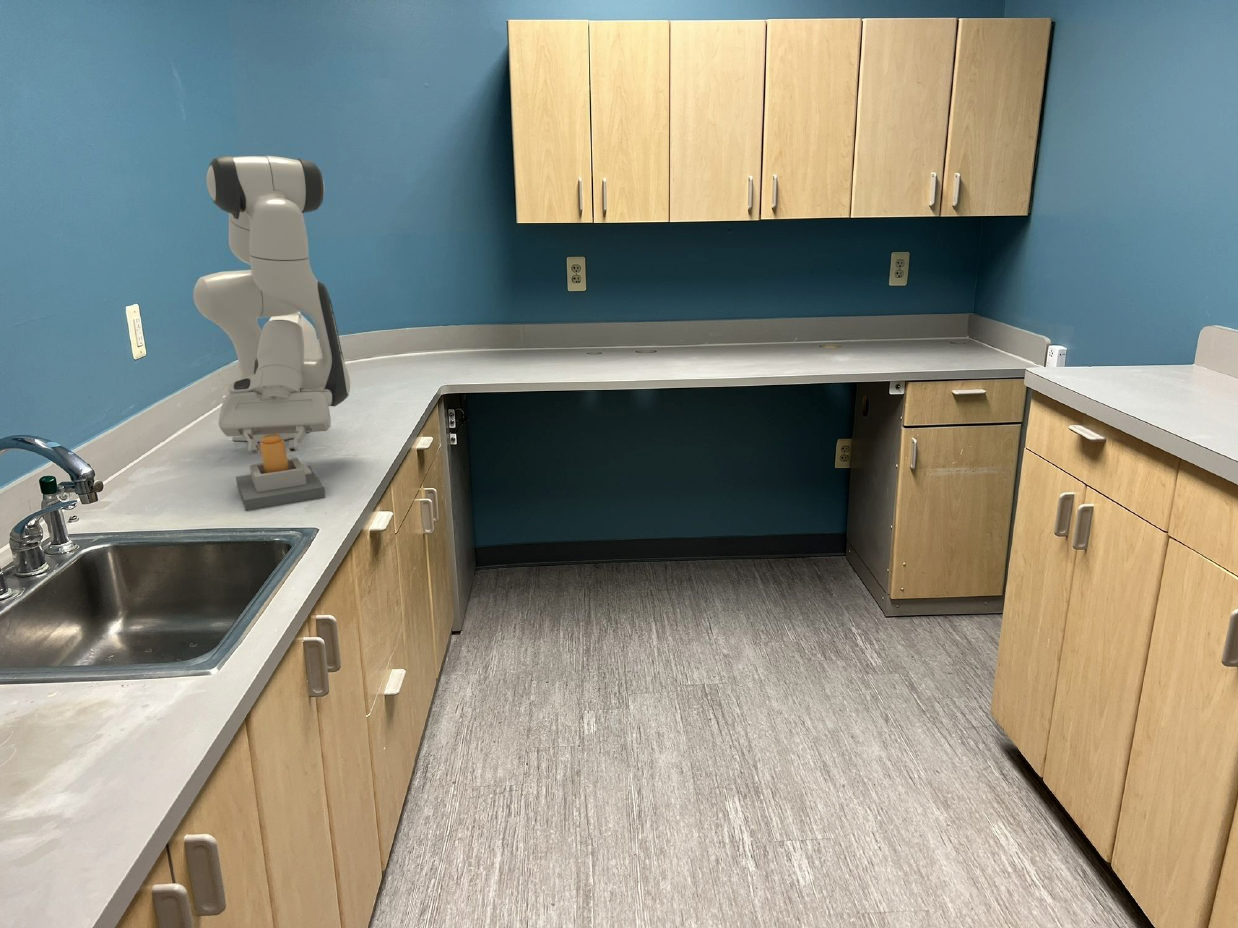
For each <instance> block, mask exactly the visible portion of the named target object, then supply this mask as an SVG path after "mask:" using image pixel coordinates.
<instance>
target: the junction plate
mask: <svg viewBox="0 0 1238 928" xmlns="http://www.w3.org/2000/svg"><path fill="white" fill-rule="evenodd" d="M287 460H288V466H289V470H284V471H278V472H271V473H265V471H264V465H263V462H260V463H259V462H258V463H253V464H249V469H250V474H246V475H239V476H235V481H236V486H237V489H238V493H239V495H240V498H241V500H242V503H243V505H244V508H245V511H250V510H251V509H252V510H257V509H261V507H264V508H269V507H274V506H280V504H281V505H286V504H287V505H288V504H291V503H298V501H299V502H304V501H305V502H306V501H310V500H314V499H315V500H317V499H322V498H326V491H325V485H324V484H323V483H322V482H321V481H320V478H319V477H318V476H317V475H316V472H315V471H314V470H313V469H312V467H311V466H310V465H303V464H302V463H301V462H300V460H299V458H298V457H293V458H287Z"/></svg>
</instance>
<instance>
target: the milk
mask: <svg viewBox="0 0 1238 928" xmlns="http://www.w3.org/2000/svg"><path fill="white" fill-rule="evenodd" d="M272 320H289V321H292V322H295V323H297V324H299V325H300V326H301V328H302V331H303V338H304V359H320V358H321V354H320V353H321V352H320V348H319V347H320V346H319V343H318V342H319V341H318V335H317V330H316V328H315V327H314V326H313V325H312V323H311V322H310V321H308V320H307V318H306V317H305V316H304V315H303V314H302V313H301V311H300V312H297V313H294V314H290V315H286V316H276V317H269V320H268V321H272Z"/></svg>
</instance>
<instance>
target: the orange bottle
mask: <svg viewBox="0 0 1238 928" xmlns="http://www.w3.org/2000/svg"><path fill="white" fill-rule="evenodd" d="M262 440H263V441H262V442H259V449H260V452H261V458H262V459H261V460H262V463H263V465H264V471H265V473H271V472H278V471H284V470H289V466H288V460H287V459H288V454H287V449H286V448H287V447H286V443H285V440H284V439H281V438H280V435H267V436H264V437H262Z"/></svg>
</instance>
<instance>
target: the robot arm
mask: <svg viewBox="0 0 1238 928" xmlns="http://www.w3.org/2000/svg"><path fill="white" fill-rule="evenodd" d="M206 188H207V190H208V194H209V196H210V197H211V200H212V202H213V204H215V205H216V207H218V208H219V209H220V210H222V211H223V212H226V213H228V245H229V248H230V250H231V252H232V254H233V255H234V256H235V257H236V258H237V259H238V260H239V261H241V262H243V263H245V264H246V265H249V266H250V269H244V270H229V271H228V270H227V271H219V272H214V273H210V274H207V275H204V276H200V277H199V278H198V280H197V281H196V282H195V284H194V288H193V291H192V294H193V302H194V305H195V307H196V308H197V310H198V312H199V313H200V314H201V315H202V316H203V317H204V318H206V319H207V320H209V321H211V322H213V323H214V324H216V325H217V326H218V327H220V328H221V330H223V331H224V333H225V334H227V336H228V338H230V340H231V342H232V344H233V347H234V349H235V353H236V356H237V361H238V365H239V370H240V371H239V372H240V377H241V378H240V379H237V380H233V381H230V382H229V383H228V384H227V385H228V386H227V391H228V395H227V396H226V397H225V398H224V400H223V402H222V404H221V408H220V412H219V416H218V417H219V418H218V427H219V429H220V431H221V432H222V434H224V436H226V437H232V441H235V442H236V441H237V442H238V441H247V443H248V446H247V449H248V452H249V454H250V455H253V454H255V455H256V454H259V452H260V451H259V450H260V444H258V442H259V443H260V442H262V441H263V440H262V437H264V436H267V435H280V438H281V439H284V441H285V440H288V450H289V451H290V452H299V451H300V444H301V443H302V441H304V439H305V438H306V435H307V433H314V432H315V433H318V432H319V433H320V432H327V431H328V430H329V429H330V428H331V426H332V425H331V424H332V419H331V412H330V411H331V410H330V407H334V408H335V407H336V406H339V405H340V404H342V403H343V402H344V401H345V400H346V399H347V398H348V397H349V395H350V391H351V390H350V389H351V378H350V374H349V370H348V368H347V366H346V362H345V359H344V356H343V355H344V354H343V351H342V350H343V349H342V345H341V342H340V336H339V331H338V326H337V322H336V316H335V313H334V310H333V305H332V300H331V297H330V294H329V291H328V289H327V287H326V285H325V284H324V283H323V282H320V280H318V279H317V278H316V276H315V274H314V273H313V270H312V267H311V264H310V255H309V254H310V253H309V252H310V251H309V241H308V233H307V227H306V224H305V223H306V222H305V218H304V214H306V213H312V212H315V211H317V210H318V209H319V208H320V207H321V206H322V204H323V202H324V196H325V190H326V187H325V181H324V178H323V175H322V172H321V169H320V168H319V167H318V165H316V163H315V162H312V161H310V160H307V159H302V158H297V159H294V158H293V159H292V158H287V157H282V156H273V155H264V156H261V155H260V156H259V155H249V156H247V155H245V156H231V155H223V156H218V157H215V158H213V159H212V160H211V161H210V163H209V166H208V170H207V173H206ZM297 312H300V313H301V312H302V313H304V314H305V315H306V316H308V317H309V318H311V320H312V322H313V323H314V326H315V331H316V335H317V340H318V342H319V343H318V344H319V347H320V348H319V349H320V351H321V352H320V353H321V356H322V357H320V359H304V338H303V331H302V328H301V326H300V325H299V324H297V323H295V322H292V321H289V320H272V321H269V320H268V321H266V322H265V324H264V325H263V326H262V329H261V327H260V325H259V323H258V319H265V318H271V317H276V316H286V315H290V314H294V313H297Z"/></svg>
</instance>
